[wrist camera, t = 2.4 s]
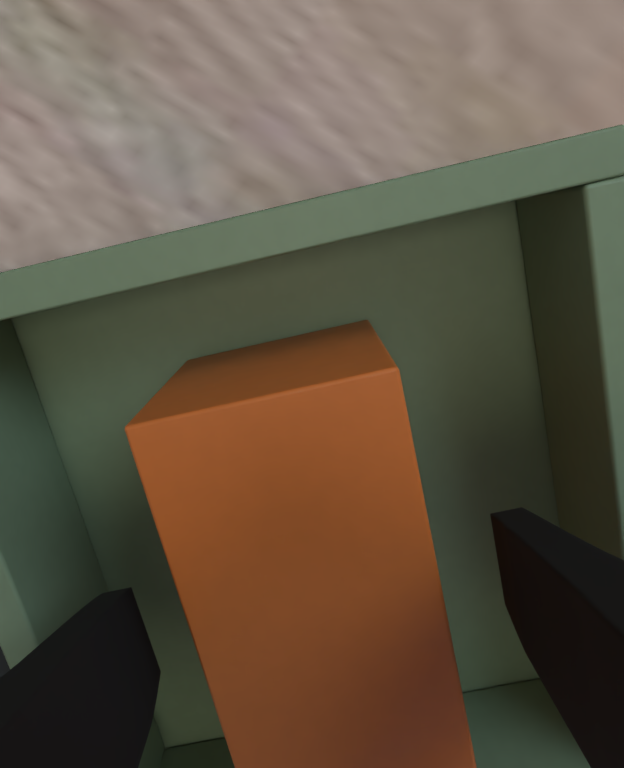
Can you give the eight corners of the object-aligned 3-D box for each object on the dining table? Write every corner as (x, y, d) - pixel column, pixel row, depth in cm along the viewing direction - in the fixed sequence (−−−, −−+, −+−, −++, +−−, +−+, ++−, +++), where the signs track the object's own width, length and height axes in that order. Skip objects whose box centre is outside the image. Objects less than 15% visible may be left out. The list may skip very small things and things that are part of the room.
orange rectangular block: (433, 635, 16) (485, 808, 11) (274, 666, 16) (259, 848, 12) (368, 318, 14) (398, 365, 9) (186, 359, 14) (122, 427, 9)
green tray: (603, 679, 17) (684, 804, 13) (150, 764, 18) (108, 904, 14) (539, 152, 13) (627, 122, 10) (-27, 286, 14) (-146, 307, 10)
